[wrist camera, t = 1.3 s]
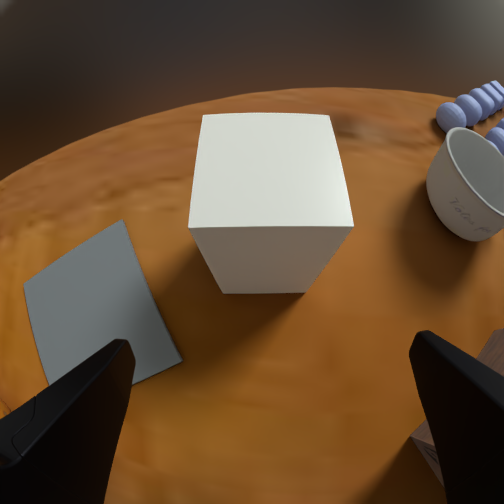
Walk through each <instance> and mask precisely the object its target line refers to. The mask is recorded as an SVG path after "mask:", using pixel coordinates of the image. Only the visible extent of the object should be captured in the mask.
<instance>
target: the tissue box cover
mask: <svg viewBox="0 0 504 504" xmlns="http://www.w3.org/2000/svg"><path fill="white" fill-rule="evenodd" d="M476 359H477V360H478V361H480V362H482V363H483V364H485V365H486V366H488V367H490V368H491V369H493V370H494V371H496V372H497V373H499V374H501V375H502V376H504V328H503V329H499V330H495V331H494V332H493V334H492V335H491V337H490V338H489V340H488V342H487V343H486V345H485V346H484V348H483V349H482V351H481V352H480V354H479V355H478V357H477V358H476ZM410 437H411V438H412V440H413V441H414V443H415V444H416V446H417V447H418V449H419V450H420V452H421V453H422V455H423V456H424V458H425V459H426V461H427V463H428V464H429V466H430V467H431V469H432V470H433V472H434V473H435V475H436V476H437V478H438V479H439V481H440V483H441V484H442V486H443V487H444V483H443V478H442V474H441V469H440V465H439V461H438V457H437V453H436V449H435V446H434V442H433V439H432V435H431V432H430V428H429V425H428V422H427V419H426V420H425V421H424V422H423V423H422V424H421V425H420V426H419V427H418V428H417V429H416V430H415V431H414V432H413V433H412V434H411V435H410ZM444 489H445V488H444Z"/></svg>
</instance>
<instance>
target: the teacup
mask: <svg viewBox="0 0 504 504" xmlns="http://www.w3.org/2000/svg"><path fill="white" fill-rule="evenodd" d="M426 186H427V193H428V196H429V200H430V202H431V205H432V207H433V209H434V211H435V212H436V214H437V216H438V217H439V219H440V220H441V222H442V223H443V224H444V225H445V226H446V227H447V228H448V229H449V230H451V231H452V232H453V233H455V234H456V235H458V236H459V237H461V238H463V239H466V240H469V241H482V240H486V239H488V238H490V237H492V236H493V235H495V234H496V233H498V232H499V231H500V230H501V229H503V228H504V156H503V155H502V154H501V153H500V151H499V150H497V148H496V147H495V146H493V145H492V144H491V143H490V142H489V141H488V140H486V139H485V138H483V137H482V136H481V135H479V134H477V133H476V132H474V131H472V130H469V129H466V128H462V127H455V128H452V129H450V130H449V131H448V133H447V135H446V138H445V141H444V142H443V144H442V146H441V147H440V149H439V151H438V152H437V154H436V156H435V157H434V159H433V161H432V163H431V165H430V167H429V170H428V173H427V179H426Z"/></svg>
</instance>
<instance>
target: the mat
mask: <svg viewBox="0 0 504 504" xmlns="http://www.w3.org/2000/svg"><path fill="white" fill-rule="evenodd" d="M24 291H25V297H26V302H27V307H28V312H29V317H30V322H31V326H32V330H33V334H34V338H35V342H36V345H37V349H38V352H39V356H40V359H41V362H42V365H43V368H44V371H45V374H46V377H47V380H48V383H49V386H50V385H51V384H52V383H54V382H55V381H56V380H58V379H59V378H61V377H62V376H63V375H65V374H66V373H68V372H69V371H70V370H72V369H73V368H75V367H76V366H77V365H79V364H80V363H82V362H83V361H84V360H86V359H87V358H89V357H90V356H91V355H93V354H94V353H96V352H97V351H98V350H100V349H101V348H103V347H104V346H105V345H107V344H108V343H110V342H111V341H112V340H114V339H116V338H119V339H126V340H128V341H129V343H130V345H131V348H132V351H133V353H134V356H135V359H136V366H135V371H134V376H133V381H132V385H133V384H135V383H137V382H140V381H142V380H144V379H146V378H149V377H151V376H153V375H155V374H157V373H159V372H162V371H164V370H166V369H168V368H170V367H172V366H174V365H176V364H178V363H180V362H182V361H183V359H182V357H181V355H180V354H179V352H178V350H177V348H176V346H175V344H174V342H173V339H172V337H171V335H170V333H169V331H168V329H167V327H166V325H165V323H164V321H163V318H162V316H161V314H160V312H159V310H158V307H157V305H156V303H155V301H154V298H153V296H152V294H151V291H150V289H149V287H148V284H147V282H146V279H145V277H144V274H143V272H142V269H141V267H140V264H139V262H138V259H137V257H136V254H135V251H134V249H133V246H132V243H131V240H130V238H129V235H128V232H127V229H126V226H125V223H124V221H123V220H120V221H118V222H116V223H115V224H113V225H111V226H110V227H108V228H106V229H105V230H103V231H101V232H100V233H98V234H96V235H95V236H93V237H92V238H90V239H88V240H87V241H85V242H84V243H82V244H80V245H79V246H77V247H76V248H74V249H73V250H71V251H70V252H68V253H67V254H65V255H64V256H62V257H61V258H59V259H58V260H56V261H55V262H53V263H52V264H50V265H49V266H48V267H46V268H45V269H43V270H42V271H41V272H39V273H38V274H36V275H35V276H34V277H32V278H31V279H29V280H28V281H27V282H25V283H24Z"/></svg>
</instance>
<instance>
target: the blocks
mask: <svg viewBox="0 0 504 504" xmlns="http://www.w3.org/2000/svg"><path fill="white" fill-rule="evenodd" d="M503 106H504V88H503V87H502V86H501V85H500V84H499V83H498V82H496V81H492V82H490V84H485V85H482V86H481V88H476V89H473V90H471V91H470V93H469V95H461V96H459V97H458V98H457V99H456V100H455V102H454V103H443V104H441V105H440V107H439V108H438V109H437V112H436V120H437V123H438V125H439V126H440V128H441V129H442V130H443V131H445V132H446V133H448V131H449V130H450V129H452V128H455V127H462V128H465V127H466V126H469V127H470V126H474V125H475V124H476V123H478V121H479V120H481V121H482V120H484V119H486V118H487V117H488V116H489V114H490V115H493V114H494V113H495V112H496V111H497V110H500V109H502V108H503ZM485 139H486V140H488V141H489V142H490V143H491V144H492V145H493V146H495V147H496V148H497V150H499V151H500V153H501V154H502V155H503V156H504V118H503V119H502V120H500V122H499V123H498V124H497V126H496V127H495V128H492V129H491V130H490V131H489V132H488V133H487V135H486V137H485Z"/></svg>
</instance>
